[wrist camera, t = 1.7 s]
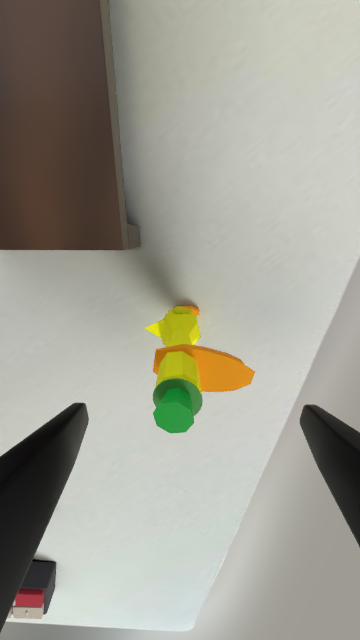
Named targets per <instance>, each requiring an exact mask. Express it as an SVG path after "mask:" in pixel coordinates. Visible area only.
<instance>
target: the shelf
mask: <svg viewBox="0 0 360 640" xmlns="http://www.w3.org/2000/svg"><path fill="white" fill-rule="evenodd" d="M137 247H141V241H140V227H138V226H134V225H131V224H127V217H126V205H125V193H124V181H123V170H122V158H121V146H120V134H119V122H118V110H117V98H116V86H115V74H114V62H113V50H112V38H111V26H110V14H109V2H108V0H0V250H126V249H132V248H137Z"/></svg>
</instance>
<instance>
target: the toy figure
mask: <svg viewBox="0 0 360 640" xmlns="http://www.w3.org/2000/svg"><path fill="white" fill-rule="evenodd" d="M196 315H199V309H197V308H195V307H193V306H175V307H174V309H173V310H169V311H168V313H167V314H166V316H165V317H164V319H163V320H161V321H159V322H157V323H155V324H152V325H150V326H148V327H146V328H144V329H146V330H148V331H150V332H151V333H153V334H155V335H157V336H158V337H160V338H162V341H163V344H164V345H166V347H165V348H160V349H156V354H155V361H154V368H153V372H155V373H156V374H157V375H158V377H157V382H156V388H155V390H154V394H153V401H154V404H155V406H156V409H155V411H154V413H153V415H154V418H155V421H156V424H157V426H159V427H160V428H162V429H164V430H165V431H167V432H169V433H181V432H186V431H187V430H188V429H189V428H190V427H191V426H192V425H193V423H194V418H193V416H194V415H195V414H197V413H198V412H199V410H200V409H201V406H202V395H201V391H204V392H224V391H233V390H237V389H239V388H242V387H244V386H246V385H249V384H251V381H252V379H253V376H254V373H255V371H253V370H252V369H250V368H248V367H247V366H245V365H244V363H243V362H242V361H241V360H240V359H238V358H236V357H234V356H232V355H230V354H228V353H225V352H221V351H217V350H213V349H210V348H206V347H201V346H195V343H196V342H197V341H198V339H199V338H200V331H199V326H198V322H197V317H196Z"/></svg>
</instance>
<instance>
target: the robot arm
mask: <svg viewBox="0 0 360 640" xmlns="http://www.w3.org/2000/svg"><path fill="white" fill-rule="evenodd" d="M88 420H89V418H88V413H87V408H86V404H85V403H74V404H72V405H71V406H69V407H68V408H66V409H65V410H64V411H62V412H61V413H60V414H58V415H57V416H55V417H54V418H53V419H51V420H50V421H49V422H47V423H46V424H44V425H43V426H42V427H40V428H39V429H38V430H36V431H35V432H33V433H32V434H31V435H29V436H28V437H27V438H25V439H24V440H22V441H21V442H20V443H18V444H17V445H16V446H14V447H13V448H11V449H10V450H9V451H7V452H6V453H5V454H3V455H2V456H0V632H1V630H2V628H3V625H4V623H5V621H6V619H7V616H8V614H9V612H10V610H11V607H12V605H13V603H14V600H15V598H16V596H17V594H18V591H19V589H20V587H21V585H22V582H23V580H24V578H25V575H26V573H27V571H28V569H29V566H30V564H31V562H32V560H33V557H34V555H35V553H36V550H37V548H38V546H39V544H40V541H41V539H42V537H43V535H44V532H45V530H46V528H47V525H48V523H49V521H50V519H51V516H52V514H53V512H54V510H55V507H56V505H57V503H58V500H59V498H60V496H61V494H62V491H63V489H64V487H65V485H66V482H67V480H68V478H69V475H70V473H71V471H72V468H73V466H74V464H75V461H76V458H77V455H78V452H79V449H80V446H81V443H82V440H83V437H84V434H85V431H86V428H87V425H88ZM300 425H301V428H302V430H303V433H304V435H305V437H306V440H307V442H308V444H309V447H310V449H311V452H312V454H313V457H314V459H315V461H316V464H317V466H318V468H319V470H320V472H321V473H322V475H323V477H324V479H325V481H326V483H327V485H328V487H329V489H330V491H331V493H332V495H333V497H334V498H335V501H336V502H337V504H338V506H339V508H340V510H341V512H342V514H343V516H344V518H345V520H346V522H347V524H348V525H349V527H350V529H351V531H352V533H353V535H354V537H355V538H356V541H357V543H358V544H359V547H360V433H359V432H358V431H356V430H355V429H353V428H352V427H350V426H348V425H347V424H345V423H344V422H342V421H341V420H339V419H337V418H336V417H334V416H333V415H331V414H330V413H328V412H326V411H325V410H323V409H322V408H320V407H318V406H317V405H305V406H304V407H303V410H302V414H301V417H300Z"/></svg>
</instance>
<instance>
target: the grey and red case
mask: <svg viewBox="0 0 360 640" xmlns="http://www.w3.org/2000/svg"><path fill="white" fill-rule="evenodd" d="M55 574H56V563H54V562H37V561H32V562H31V564H30V566H29V569H28V571H27V573H26V575H25V578H24V580H23V582H22V585H21V587H20V589H19V591H18V594H17V596H16V598H15V600H14V603H13V605H12V607H11V610H10V612H9V614H8V616H7V618H10V617H11V615H12V614H13V616H14V618H33V619H41V618H42V616H43V614H46V613H47V611H48V608H49V605H50V602H51V598H52V595H53V592H54V589H55Z"/></svg>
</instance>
